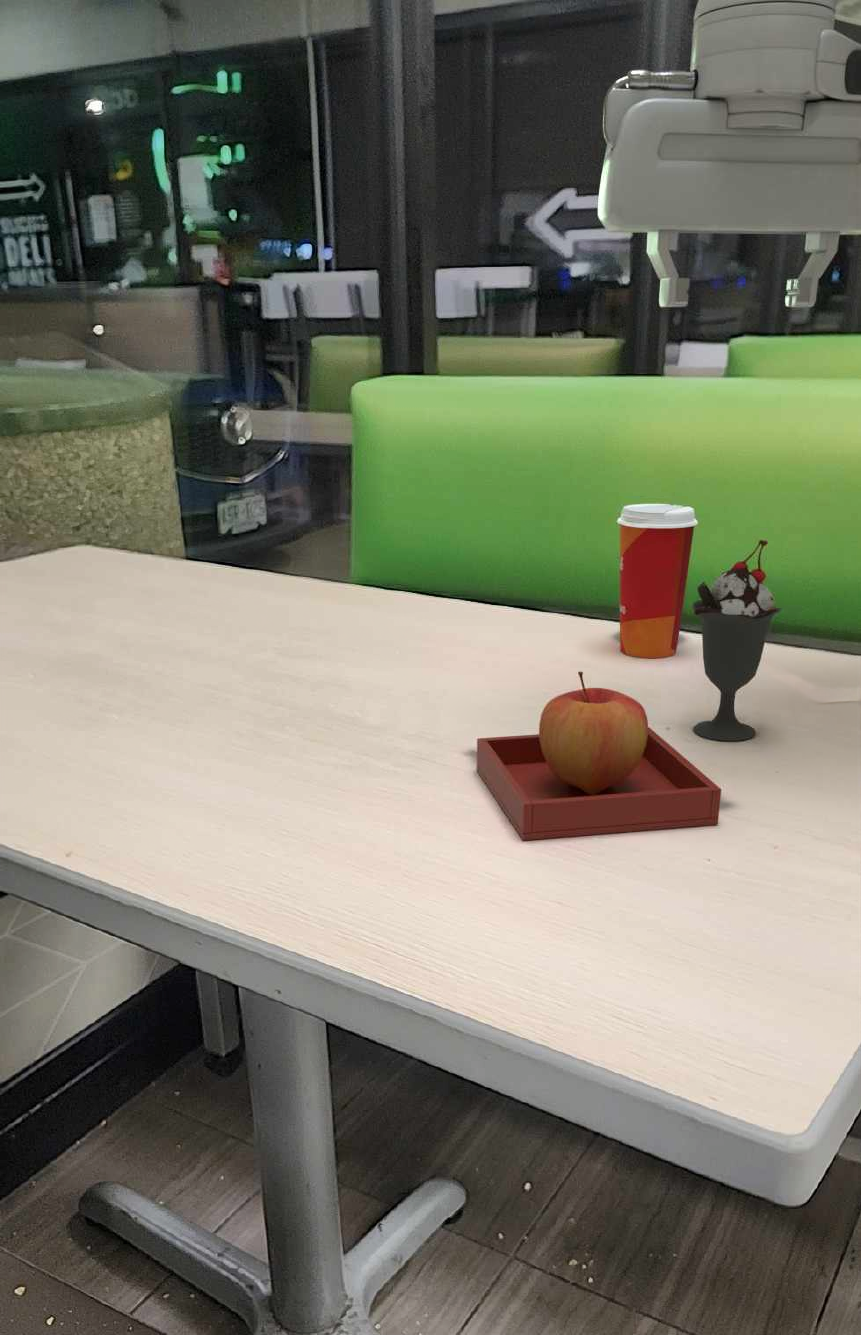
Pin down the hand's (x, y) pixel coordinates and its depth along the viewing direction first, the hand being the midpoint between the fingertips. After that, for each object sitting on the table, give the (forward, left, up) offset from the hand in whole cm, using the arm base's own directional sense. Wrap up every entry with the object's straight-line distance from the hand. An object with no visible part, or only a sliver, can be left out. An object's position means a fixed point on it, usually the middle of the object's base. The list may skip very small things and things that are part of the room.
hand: (736, 307), depth 81 cm
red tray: (+13, +12, -31) cm, 36 cm away
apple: (+13, +12, -31) cm, 35 cm away
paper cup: (-5, -25, -31) cm, 40 cm away
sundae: (-2, 0, -31) cm, 31 cm away
